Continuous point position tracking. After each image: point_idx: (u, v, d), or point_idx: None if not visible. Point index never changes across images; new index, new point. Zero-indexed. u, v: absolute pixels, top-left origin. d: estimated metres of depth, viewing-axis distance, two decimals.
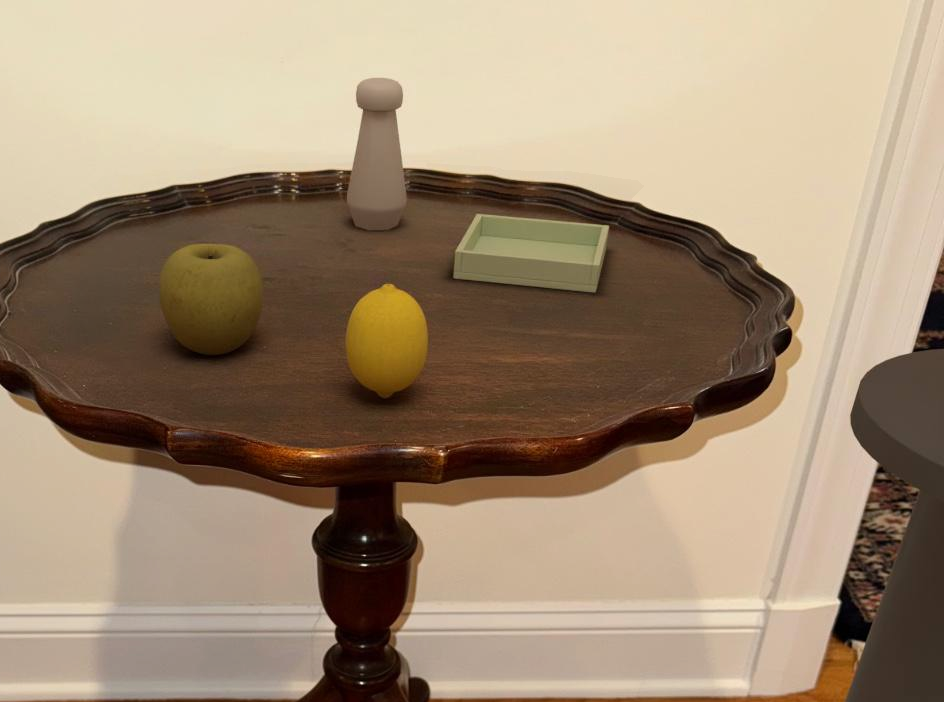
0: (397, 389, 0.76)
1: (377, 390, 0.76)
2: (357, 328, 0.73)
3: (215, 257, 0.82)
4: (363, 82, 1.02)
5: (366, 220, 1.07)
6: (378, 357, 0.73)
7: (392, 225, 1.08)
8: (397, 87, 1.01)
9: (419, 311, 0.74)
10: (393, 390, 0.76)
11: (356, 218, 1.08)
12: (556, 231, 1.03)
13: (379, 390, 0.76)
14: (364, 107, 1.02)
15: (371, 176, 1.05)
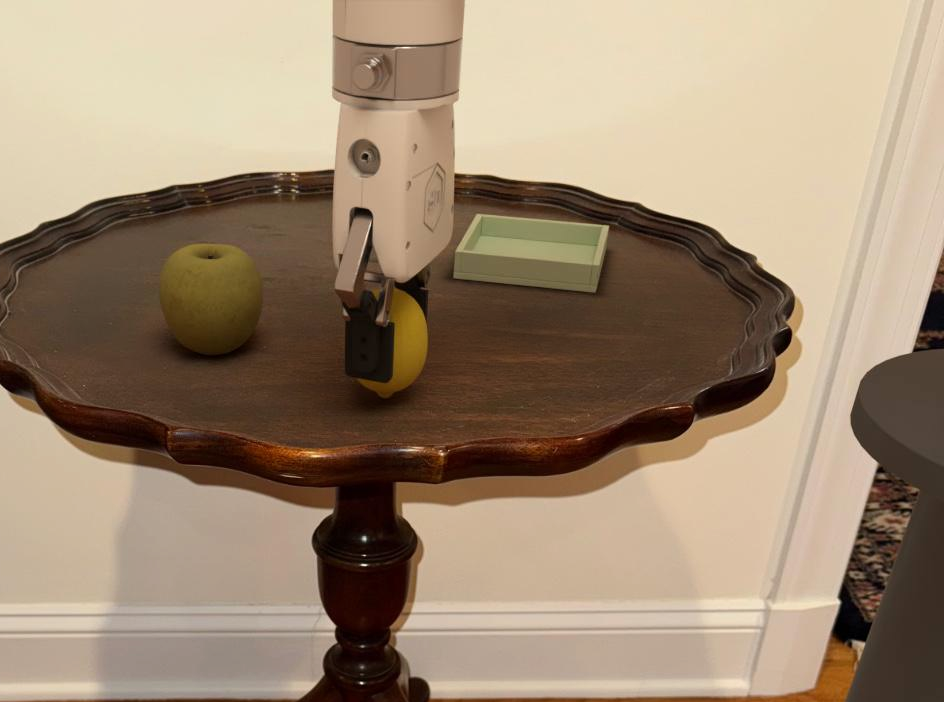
0: (397, 389, 0.76)
1: (377, 390, 0.76)
2: None
3: (215, 257, 0.82)
4: None
5: None
6: None
7: None
8: None
9: (418, 311, 0.74)
10: (393, 390, 0.76)
11: None
12: (556, 231, 1.03)
13: (379, 390, 0.76)
14: None
15: None
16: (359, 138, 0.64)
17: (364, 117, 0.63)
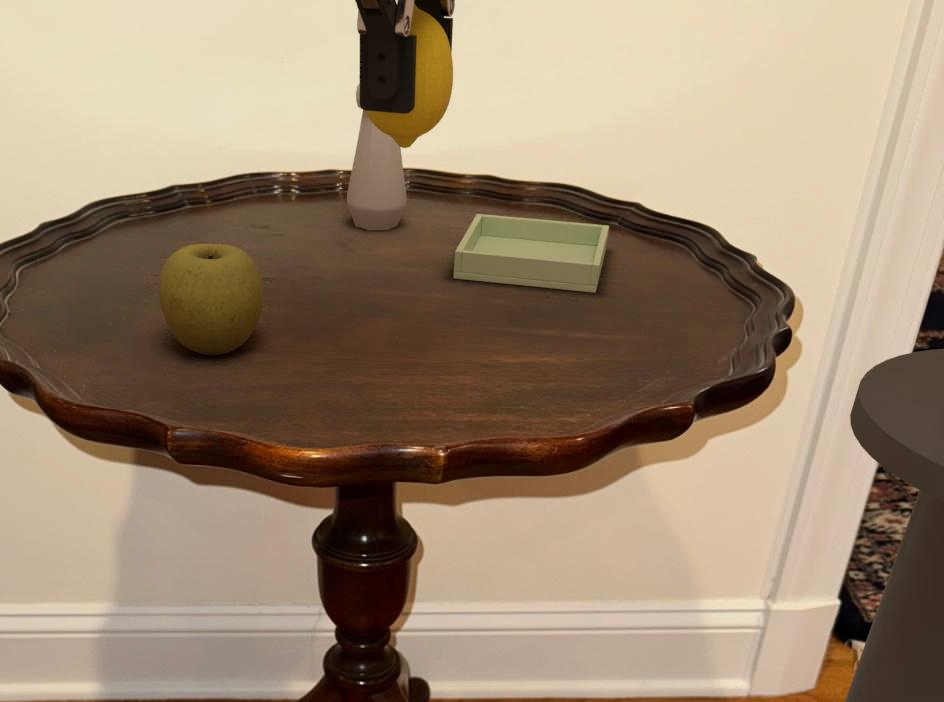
0: (419, 130, 0.67)
1: (396, 132, 0.67)
2: None
3: (215, 257, 0.82)
4: None
5: (366, 220, 1.07)
6: None
7: (392, 225, 1.08)
8: None
9: (443, 32, 0.64)
10: (414, 131, 0.67)
11: (356, 218, 1.08)
12: (556, 231, 1.03)
13: (399, 132, 0.67)
14: None
15: (371, 176, 1.05)
16: None
17: None
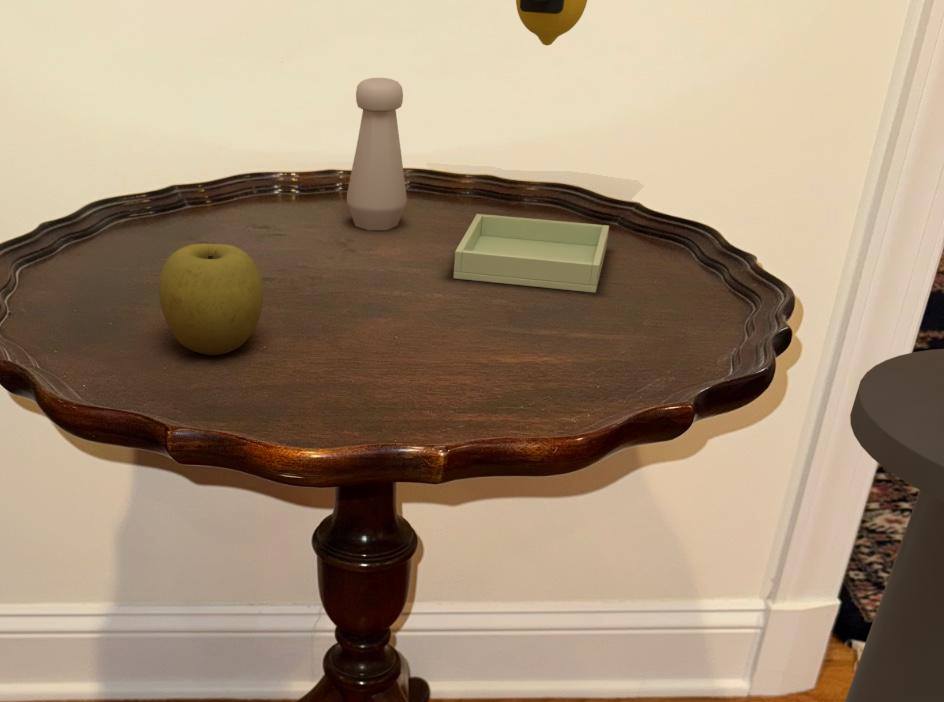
0: (562, 29, 0.86)
1: (544, 30, 0.86)
2: None
3: (215, 257, 0.82)
4: (363, 82, 1.02)
5: (366, 220, 1.07)
6: None
7: (392, 225, 1.08)
8: (397, 87, 1.01)
9: None
10: (558, 30, 0.86)
11: (356, 218, 1.08)
12: (556, 231, 1.03)
13: (546, 30, 0.86)
14: (364, 107, 1.02)
15: (371, 176, 1.05)
16: None
17: None
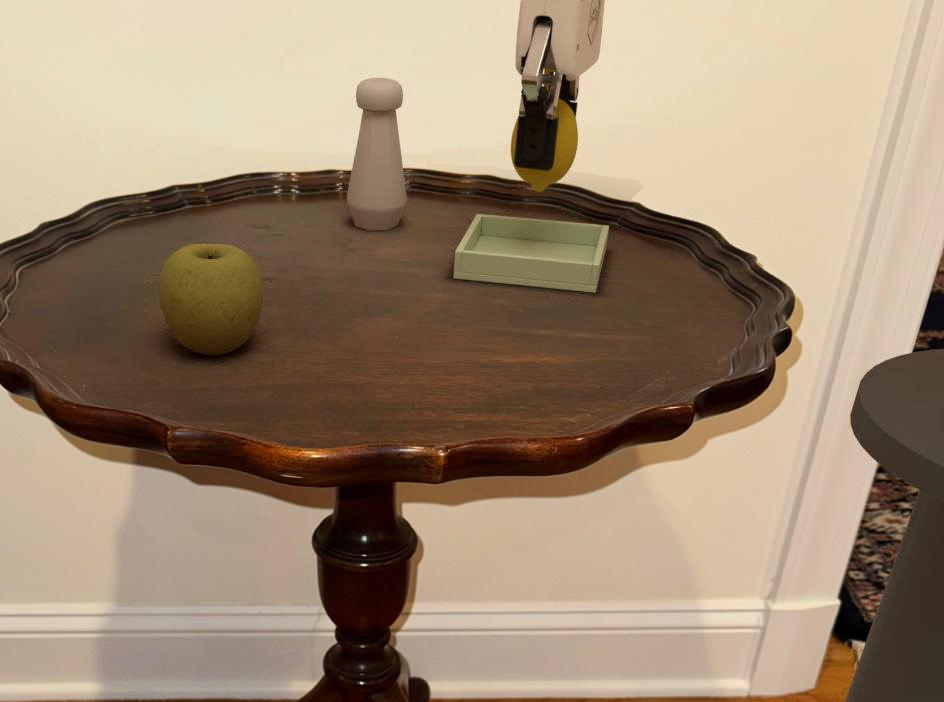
0: (552, 180, 0.95)
1: (536, 181, 0.95)
2: None
3: (215, 257, 0.82)
4: (363, 82, 1.02)
5: (366, 220, 1.07)
6: None
7: (392, 225, 1.08)
8: (397, 87, 1.01)
9: (573, 114, 0.93)
10: (549, 181, 0.95)
11: (356, 218, 1.08)
12: (556, 231, 1.03)
13: (538, 181, 0.95)
14: (364, 107, 1.02)
15: (371, 176, 1.05)
16: None
17: None
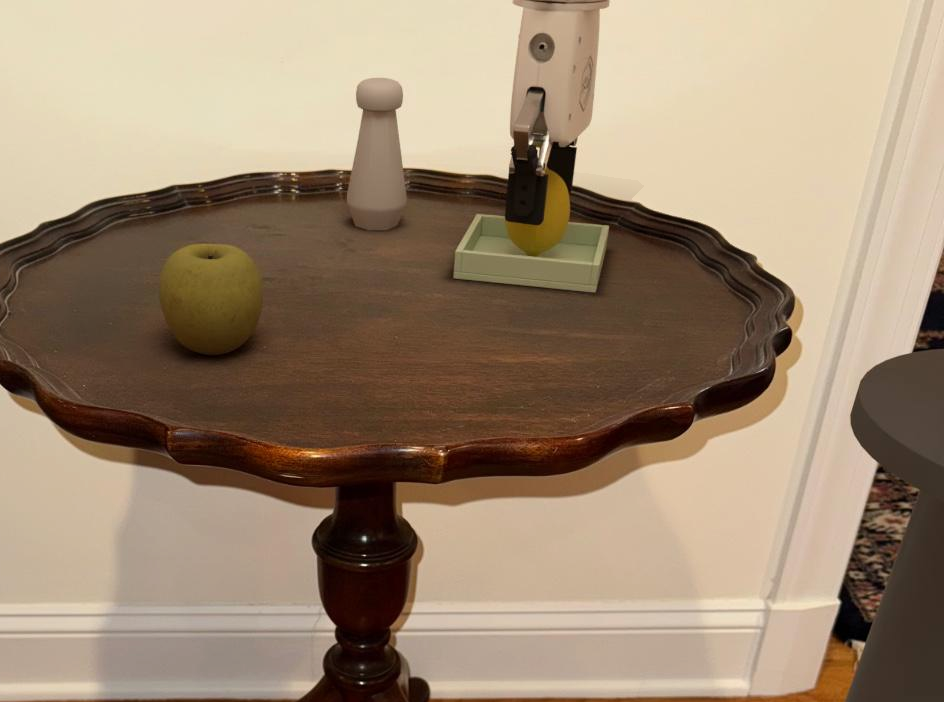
0: (545, 248, 0.98)
1: (529, 249, 0.98)
2: None
3: (215, 257, 0.82)
4: (363, 82, 1.02)
5: (366, 220, 1.07)
6: None
7: (392, 225, 1.08)
8: (397, 87, 1.01)
9: (565, 186, 0.96)
10: (542, 249, 0.98)
11: (356, 218, 1.08)
12: None
13: (531, 249, 0.98)
14: (364, 107, 1.02)
15: (371, 176, 1.05)
16: (538, 32, 0.86)
17: (543, 16, 0.85)
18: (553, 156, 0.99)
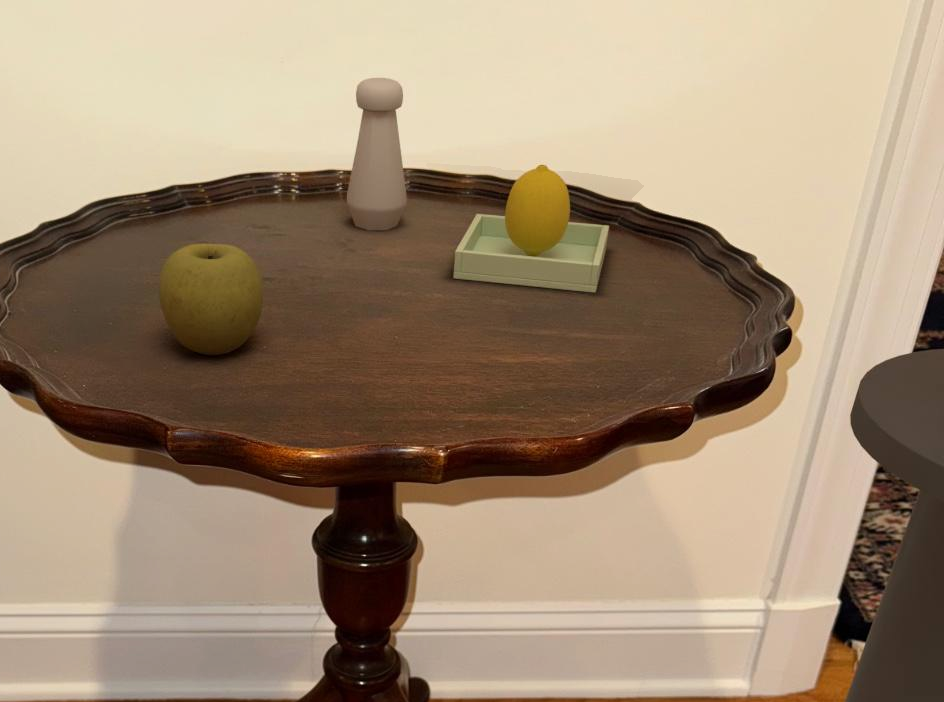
0: (545, 248, 0.98)
1: (529, 249, 0.98)
2: (518, 198, 0.96)
3: (215, 257, 0.82)
4: (363, 82, 1.02)
5: (366, 220, 1.07)
6: (534, 221, 0.96)
7: (392, 225, 1.08)
8: (397, 87, 1.01)
9: (565, 186, 0.96)
10: (542, 249, 0.98)
11: (356, 218, 1.08)
12: None
13: (531, 249, 0.98)
14: (364, 107, 1.02)
15: (371, 176, 1.05)
16: None
17: None
18: None
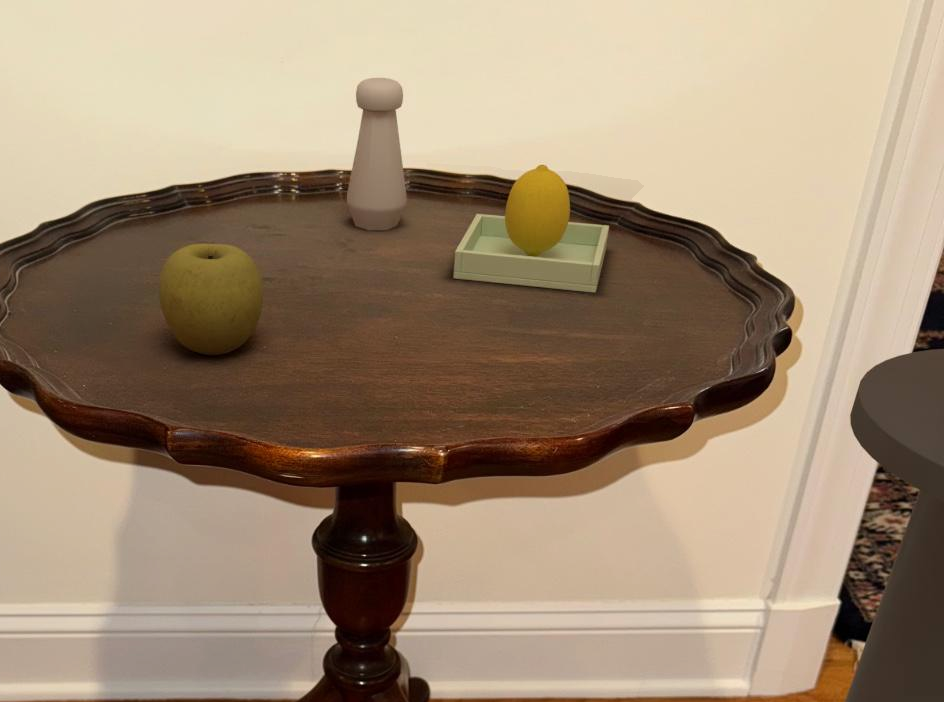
0: (545, 248, 0.98)
1: (529, 249, 0.98)
2: (518, 198, 0.96)
3: (215, 257, 0.82)
4: (363, 82, 1.02)
5: (366, 220, 1.07)
6: (534, 221, 0.96)
7: (392, 225, 1.08)
8: (397, 87, 1.01)
9: (565, 186, 0.96)
10: (542, 249, 0.98)
11: (356, 218, 1.08)
12: None
13: (531, 249, 0.98)
14: (364, 107, 1.02)
15: (371, 176, 1.05)
16: None
17: None
18: None
